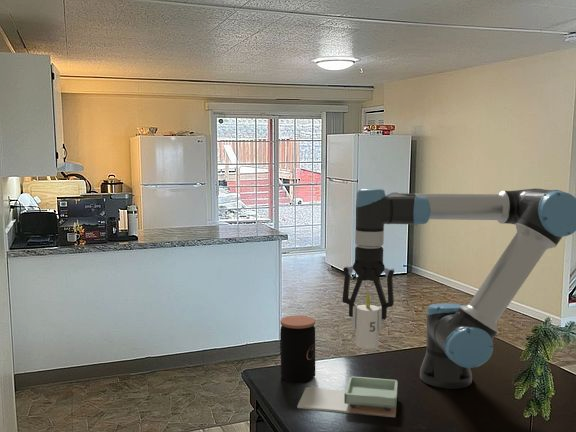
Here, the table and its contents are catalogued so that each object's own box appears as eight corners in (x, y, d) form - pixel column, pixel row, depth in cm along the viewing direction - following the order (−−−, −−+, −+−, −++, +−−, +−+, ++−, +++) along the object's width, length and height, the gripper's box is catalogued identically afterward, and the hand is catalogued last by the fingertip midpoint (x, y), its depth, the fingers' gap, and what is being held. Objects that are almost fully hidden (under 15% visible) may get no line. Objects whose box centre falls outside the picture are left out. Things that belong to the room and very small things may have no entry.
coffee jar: (312, 385, 160) (312, 326, 159) (277, 383, 163) (276, 324, 161) (317, 371, 171) (317, 316, 169) (284, 369, 173) (284, 314, 171)
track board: (396, 396, 153) (397, 395, 153) (395, 417, 140) (395, 415, 140) (306, 388, 158) (306, 387, 158) (297, 407, 146) (297, 406, 146)
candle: (361, 350, 145) (362, 295, 143) (351, 342, 151) (352, 289, 149) (382, 348, 147) (384, 293, 145) (372, 340, 153) (373, 288, 151)
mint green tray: (397, 394, 152) (397, 380, 152) (396, 414, 140) (396, 398, 140) (349, 390, 155) (349, 376, 155) (344, 409, 143) (344, 394, 143)
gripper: (406, 245, 147) (404, 328, 149) (336, 242, 152) (335, 322, 155) (404, 250, 140) (402, 337, 142) (331, 246, 145) (329, 330, 147)
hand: (367, 329), depth 148 cm, fingers closed on candle, 6 cm apart
